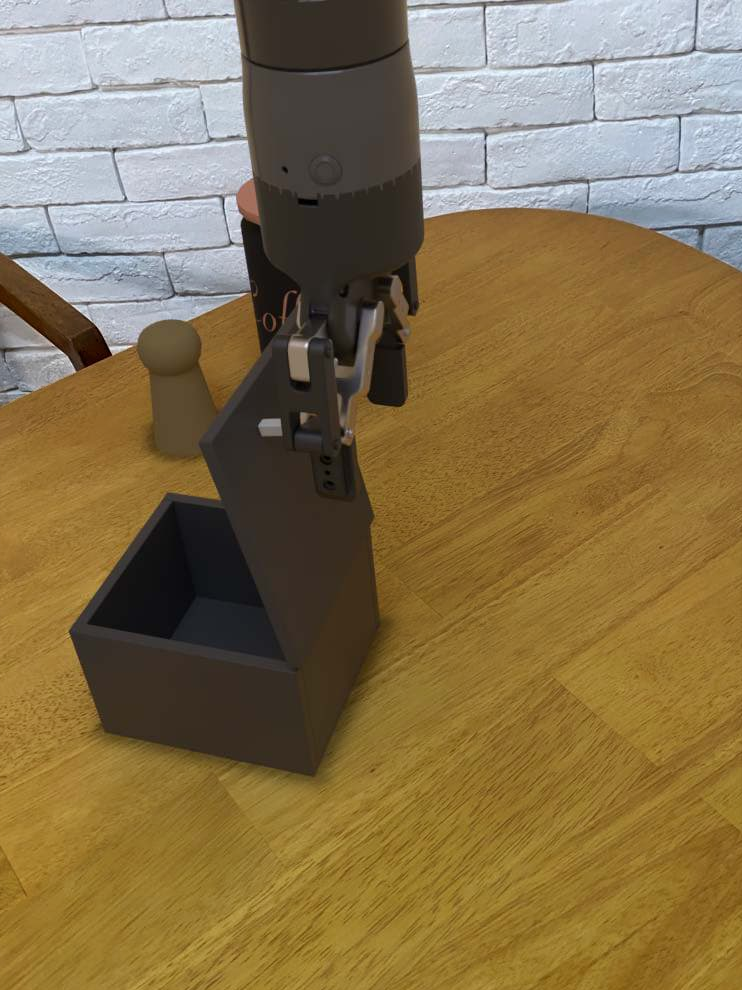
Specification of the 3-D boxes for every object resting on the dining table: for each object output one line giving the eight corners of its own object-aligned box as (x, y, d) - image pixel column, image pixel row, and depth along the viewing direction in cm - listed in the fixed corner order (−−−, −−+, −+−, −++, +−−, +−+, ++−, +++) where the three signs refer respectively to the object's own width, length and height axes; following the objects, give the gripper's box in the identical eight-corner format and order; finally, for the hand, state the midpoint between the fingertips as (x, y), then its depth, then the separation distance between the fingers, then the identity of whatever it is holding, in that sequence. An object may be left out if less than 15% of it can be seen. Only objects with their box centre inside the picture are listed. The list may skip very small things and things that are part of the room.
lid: (197, 442, 54) (290, 440, 52) (297, 303, 64) (378, 297, 62) (288, 668, 64) (370, 673, 62) (364, 516, 73) (436, 517, 71)
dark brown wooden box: (105, 735, 74) (68, 630, 67) (193, 595, 83) (167, 491, 77) (314, 780, 70) (296, 673, 64) (380, 628, 80) (370, 522, 73)
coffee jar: (241, 386, 104) (208, 201, 93) (312, 334, 111) (290, 155, 99) (332, 420, 99) (309, 229, 88) (401, 363, 106) (389, 178, 94)
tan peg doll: (141, 452, 97) (113, 341, 90) (177, 413, 102) (152, 305, 94) (203, 464, 96) (178, 352, 88) (236, 425, 100) (216, 315, 93)
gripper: (311, 88, 56) (341, 368, 66) (189, 214, 46) (248, 521, 56) (458, 96, 54) (465, 383, 64) (365, 228, 44) (392, 543, 54)
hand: (364, 447), depth 60 cm, fingers open, 8 cm apart
